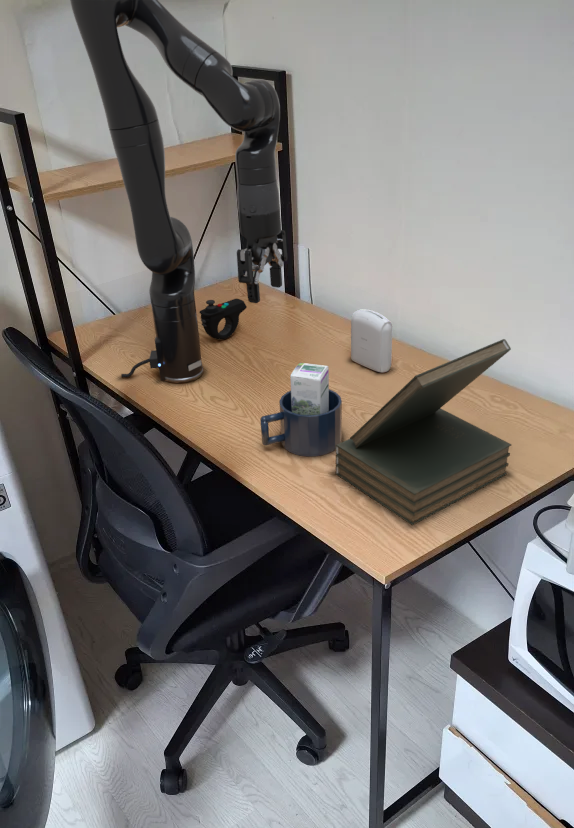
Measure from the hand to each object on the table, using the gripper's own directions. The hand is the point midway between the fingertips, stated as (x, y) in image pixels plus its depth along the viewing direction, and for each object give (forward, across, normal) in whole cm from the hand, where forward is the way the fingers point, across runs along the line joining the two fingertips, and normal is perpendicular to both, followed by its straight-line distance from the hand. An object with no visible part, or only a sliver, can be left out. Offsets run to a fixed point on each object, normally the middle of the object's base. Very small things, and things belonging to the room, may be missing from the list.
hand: (265, 294), depth 150 cm
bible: (+23, +14, +38) cm, 46 cm away
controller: (+22, -22, -26) cm, 41 cm away
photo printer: (+23, -23, +12) cm, 34 cm away
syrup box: (+22, +12, +15) cm, 29 cm away
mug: (+23, +13, +14) cm, 30 cm away
